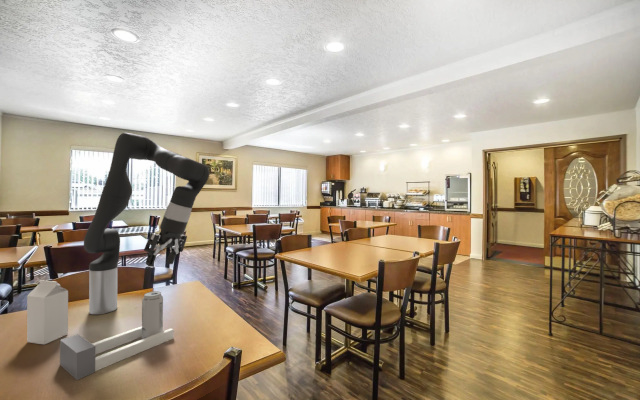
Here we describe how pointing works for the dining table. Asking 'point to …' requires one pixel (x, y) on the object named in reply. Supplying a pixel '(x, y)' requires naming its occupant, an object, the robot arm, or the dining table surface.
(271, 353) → the dining table surface
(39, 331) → the milk carton
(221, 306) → the dining table surface
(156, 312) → the energy drink can
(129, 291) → the dining table surface
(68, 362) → the stop channel
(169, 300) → the dining table surface
